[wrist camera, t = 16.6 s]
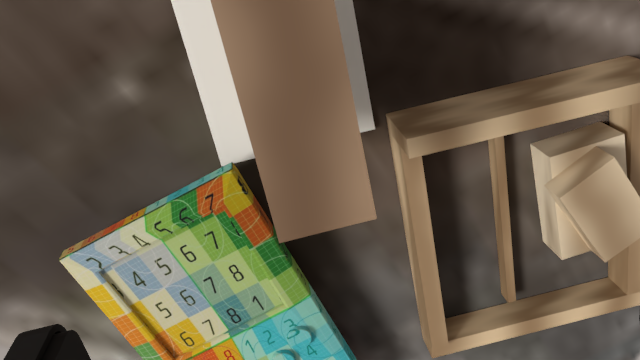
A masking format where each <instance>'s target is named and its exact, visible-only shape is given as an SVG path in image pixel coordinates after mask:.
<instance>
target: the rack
mask: <svg viewBox="0 0 640 360" xmlns="http://www.w3.org/2000/svg"><path fill="white" fill-rule="evenodd" d="M607 110H609V126H610V127H612V128H614V129H616V130H618V131H620V132H622V133H624V134H625V151H626V168H627V178H628V179H629V181H630V182H631V184H632V186H633V187H634V189H635V190H636V192H637V194H638V195H639V197H640V59H637V58H634V57H631V56H628V55H627V56H623V57H619V58H615V59H611V60H606V61H602V62H598V63H594V64H590V65H586V66H582V67H577V68H573V69H569V70H565V71H561V72H557V73H552V74H548V75H544V76H540V77H536V78H532V79H528V80H523V81H519V82H515V83H511V84H507V85H503V86H499V87H494V88H490V89H486V90H482V91H478V92H474V93H470V94H465V95H461V96H457V97H453V98H449V99H445V100H441V101H436V102H432V103H428V104H424V105H420V106H416V107H412V108H407V109H403V110H399V111H395V112H391V113H387V114H386V119H387V125H388V131H389V137H390V143H391V149H392V155H393V161H394V167H395V173H396V179H397V185H398V191H399V197H400V203H401V209H402V216H403V222H404V228H405V234H406V240H407V246H408V252H409V258H410V264H411V270H412V276H413V282H414V288H415V294H416V300H417V306H418V312H419V318H420V324H421V330H422V336H423V339H424V341H425V343H426V346H427V348H428V350H429V352H430V355H431V357H432V358H435V357H439V356H443V355H447V354H451V353H455V352H458V351H462V350H466V349H470V348H474V347H478V346H482V345H486V344H490V343H493V342H497V341H501V340H505V339H509V338H513V337H517V336H521V335H525V334H528V333H532V332H536V331H540V330H544V329H548V328H552V327H556V326H560V325H563V324H567V323H571V322H575V321H579V320H583V319H587V318H591V317H595V316H598V315H602V314H606V313H610V312H614V311H618V310H622V309H626V308H630V307H633V306H637V305H640V238H639V239H638V240H636V241H635V242H634V243H632V244H631V245H629V246H628V247H627V248H625V249H624V250H622V251H621V252H620V253H618V254H617V255H615V256H614V257H613V258H611V259H610V260H608V277H607V278H603V279H599V280H595V281H591V282H587V283H583V284H579V285H575V286H571V287H568V288H564V289H560V290H556V291H552V292H548V293H544V294H540V295H536V296H532V297H528V298H524V299H520V300H517V301H516V294H515V280H514V267H513V254H512V241H511V227H510V214H509V201H508V188H507V174H506V161H505V148H504V136H505V135H509V134H513V133H517V132H521V131H526V130H530V129H534V128H538V127H542V126H546V125H550V124H554V123H558V122H562V121H567V120H571V119H575V118H579V117H583V116H587V115H591V114H595V113H599V112H603V111H607ZM485 140H488V146H489V158H490V169H491V180H492V192H493V203H494V214H495V226H496V237H497V248H498V260H499V271H500V282H501V294H502V295H503V296H504V298H505V299H506V300H507V302H508V303H505V304H501V305H497V306H493V307H489V308H485V309H481V310H477V311H473V312H469V313H466V314H462V315H458V316H454V317H450V318H446V319H445V316H444V309H443V302H442V295H441V288H440V281H439V274H438V267H437V260H436V253H435V246H434V239H433V231H432V224H431V217H430V210H429V203H428V196H427V189H426V182H425V175H424V168H423V161H422V156H423V155H427V154H431V153H436V152H440V151H444V150H448V149H452V148H456V147H460V146H464V145H468V144H472V143H476V142H481V141H485Z"/></svg>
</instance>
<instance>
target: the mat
mask: <svg viewBox="0 0 640 360" xmlns="http://www.w3.org/2000/svg"><path fill="white" fill-rule="evenodd" d="M171 2H172V5H173V9H174V12H175V15H176V18H177V22H178V25H179V28H180V31H181V35H182V38H183V41H184V45H185V48H186V51H187V54H188V58H189V61H190V64H191V68H192V71H193V74H194V77H195V81H196V84H197V87H198V91H199V94H200V97H201V100H202V104H203V107H204V110H205V113H206V117H207V120H208V123H209V127H210V130H211V133H212V136H213V140H214V143H215V146H216V150H217V153H218V156H219V159H220V163H221V166H225V165H227V164H229V163H231V162H233V163H237V162H241V161H246V160H250V159H254V158H255V156H254V152H253V149H252V145H251V142H250V138H249V135H248V131H247V128H246V124H245V121H244V117H243V114H242V110H241V107H240V103H239V99H238V96H237V92H236V89H235V85H234V82H233V78H232V75H231V71H230V68H229V64H228V61H227V57H226V54H225V50H224V47H223V43H222V39H221V36H220V32H219V29H218V25H217V22H216V18H215V15H214V11H213V8H212V4H211V1H210V0H171ZM334 2H335V7H336V12H337V17H338V22H339V28H340V33H341V38H342V43H343V48H344V53H345V58H346V63H347V69H348V74H349V79H350V84H351V89H352V94H353V99H354V104H355V110H356V115H357V120H358V125H359V130H360V133H361V132H365V131H370V130H374V129H375V125H374V120H373V114H372V108H371V103H370V97H369V91H368V86H367V80H366V74H365V69H364V63H363V57H362V51H361V46H360V40H359V34H358V29H357V23H356V17H355V12H354V6H353V0H334Z"/></svg>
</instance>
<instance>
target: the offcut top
mask: <svg viewBox="0 0 640 360" xmlns="http://www.w3.org/2000/svg"><path fill="white" fill-rule="evenodd" d="M544 186H545V188H546V189H547V190H548V192H549V193H550V195H551V196H552V197H553V199H554V200H555V202H556V203H557V204H558V206H559V207H560V209H561V210H562V211H563V213H564V214H565V216H566V217H567V218H568V220H569V221H570V223H571V224H572V225H573V227H574V228H575V229H576V231H577V232H578V234H579V235H580V236H581V238H582V239H583V241H584V242H585V243H586V245H587V246H588V248H590V249H591V250H592V251H593V252H594V253H595V254H596V255H597V256H599V257H600V258H601V259H602V260H603V261H604V262H605V263H606V262H607V261H608V260H610V259H611V258H613V257H614V256H615V255H617V254H618V253H620V252H621V251H622V250H624V249H625V248H627V247H628V246H629V245H631V244H632V243H634V242H635V241H636V240H638V239H639V238H640V197H639V195H638V194H637V192H636V190H635V189H634V187H633V186H632V184H631V182H630V181H629V179H628V178H627V176H626V174H625V173H624V171H623V170H622V168H621V166H620V165H619V163H618V162H617V160H616V159H615V157H613V156H612V155H610V154H608V153H607V152H605V151H603V150H602V149H600V148H598V147H596V146H595V147H594V148H593V149H591V150H590V151H589V152H587V153H586V154H585V155H583V156H582V157H581V158H579V159H578V160H577V161H575V162H574V163H573V164H571V165H570V166H569V167H567V168H566V169H565V170H563V171H562V172H561V173H559V174H558V175H557V176H555V177H554V178H553V179H551V180H550V181H549V182H547V183H546V184H545V185H544Z"/></svg>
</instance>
